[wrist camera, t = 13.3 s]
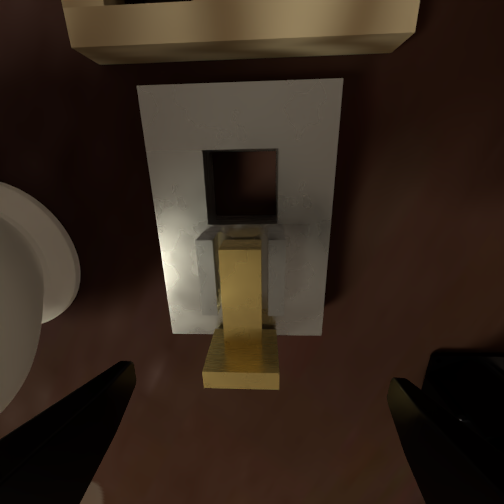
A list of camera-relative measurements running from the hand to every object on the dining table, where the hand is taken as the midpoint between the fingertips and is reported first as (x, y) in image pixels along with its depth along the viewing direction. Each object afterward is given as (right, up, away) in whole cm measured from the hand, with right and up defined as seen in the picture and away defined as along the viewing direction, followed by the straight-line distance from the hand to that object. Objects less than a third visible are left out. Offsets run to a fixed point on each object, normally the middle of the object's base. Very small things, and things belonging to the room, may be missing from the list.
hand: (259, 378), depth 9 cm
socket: (-1, +6, +10) cm, 12 cm away
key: (-1, +1, +8) cm, 9 cm away
